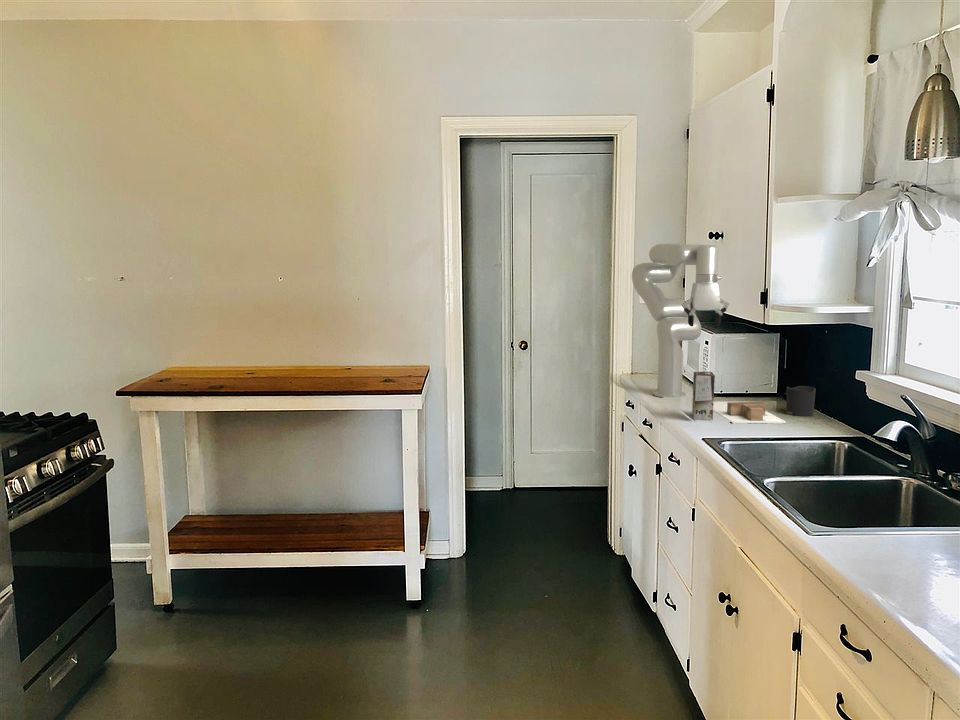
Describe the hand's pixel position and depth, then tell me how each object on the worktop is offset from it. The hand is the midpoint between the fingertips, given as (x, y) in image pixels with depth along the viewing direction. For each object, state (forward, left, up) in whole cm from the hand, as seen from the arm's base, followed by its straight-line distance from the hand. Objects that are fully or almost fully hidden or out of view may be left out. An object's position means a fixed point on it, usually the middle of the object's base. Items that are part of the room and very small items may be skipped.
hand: (704, 326), depth 273 cm
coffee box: (+21, -6, -31) cm, 37 cm away
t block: (+20, +11, -30) cm, 38 cm away
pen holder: (+16, +30, -31) cm, 46 cm away
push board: (+11, +11, -30) cm, 34 cm away
